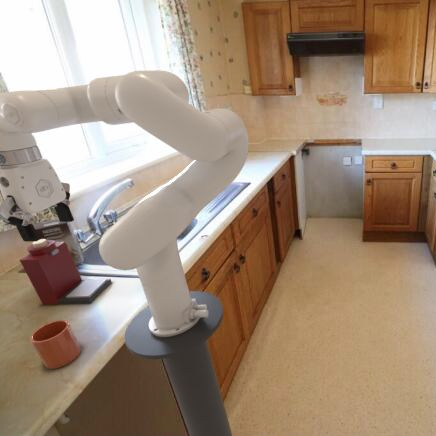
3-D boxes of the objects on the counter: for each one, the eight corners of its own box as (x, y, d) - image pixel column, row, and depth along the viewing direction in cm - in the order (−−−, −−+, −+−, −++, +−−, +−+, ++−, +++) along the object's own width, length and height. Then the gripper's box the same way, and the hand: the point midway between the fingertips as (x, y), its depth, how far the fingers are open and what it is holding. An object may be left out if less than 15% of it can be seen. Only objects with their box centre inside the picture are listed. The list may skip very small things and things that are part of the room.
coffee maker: (112, 282, 102) (95, 241, 96) (90, 303, 93) (71, 259, 86) (83, 283, 102) (65, 242, 96) (59, 304, 93) (37, 260, 87)
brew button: (50, 243, 92) (48, 238, 91) (42, 248, 89) (39, 243, 89) (40, 243, 92) (38, 238, 91) (31, 249, 89) (29, 244, 89)
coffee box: (51, 272, 109) (31, 230, 102) (53, 264, 114) (34, 223, 107) (84, 263, 113) (66, 222, 106) (84, 255, 118) (68, 216, 111)
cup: (87, 344, 78) (75, 319, 75) (66, 368, 72) (52, 342, 69) (60, 345, 79) (47, 320, 75) (37, 369, 72) (21, 342, 69)
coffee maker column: (85, 283, 102) (64, 236, 95) (61, 304, 93) (36, 253, 86) (66, 283, 102) (45, 236, 95) (41, 304, 93) (14, 254, 86)
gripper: (-7, 168, 58) (32, 249, 66) (68, 147, 74) (93, 214, 81) (-45, 168, 59) (-2, 249, 66) (37, 147, 74) (65, 215, 82)
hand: (50, 230), depth 74 cm, fingers open, 9 cm apart
